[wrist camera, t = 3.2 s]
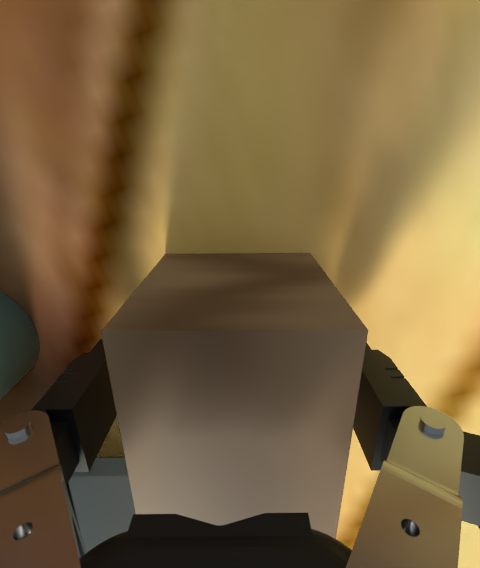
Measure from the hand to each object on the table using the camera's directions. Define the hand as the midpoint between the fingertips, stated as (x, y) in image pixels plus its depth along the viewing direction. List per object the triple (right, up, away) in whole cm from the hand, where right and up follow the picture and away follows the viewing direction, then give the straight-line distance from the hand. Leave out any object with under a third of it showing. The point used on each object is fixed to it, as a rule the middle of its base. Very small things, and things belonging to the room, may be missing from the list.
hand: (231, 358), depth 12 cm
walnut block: (0, +1, +2) cm, 2 cm away
